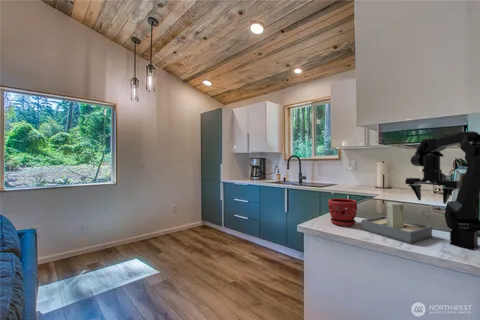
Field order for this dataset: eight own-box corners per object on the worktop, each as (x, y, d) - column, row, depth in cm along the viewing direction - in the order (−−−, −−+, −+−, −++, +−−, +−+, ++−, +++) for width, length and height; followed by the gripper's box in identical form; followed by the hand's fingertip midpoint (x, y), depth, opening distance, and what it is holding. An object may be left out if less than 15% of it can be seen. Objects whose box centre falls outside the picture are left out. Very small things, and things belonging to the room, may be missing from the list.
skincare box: (404, 233, 95) (404, 204, 95) (392, 233, 96) (392, 204, 96) (397, 229, 101) (396, 201, 101) (386, 228, 102) (386, 201, 102)
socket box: (432, 237, 93) (432, 226, 93) (410, 244, 86) (410, 232, 86) (382, 224, 111) (382, 215, 111) (361, 229, 104) (361, 220, 104)
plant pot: (363, 225, 111) (362, 200, 111) (344, 229, 105) (344, 203, 105) (340, 218, 123) (340, 196, 123) (322, 222, 117) (322, 199, 117)
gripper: (467, 167, 97) (467, 203, 97) (416, 166, 113) (416, 197, 113) (456, 167, 91) (456, 206, 92) (404, 166, 108) (404, 199, 108)
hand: (431, 201), depth 101 cm, fingers open, 9 cm apart
